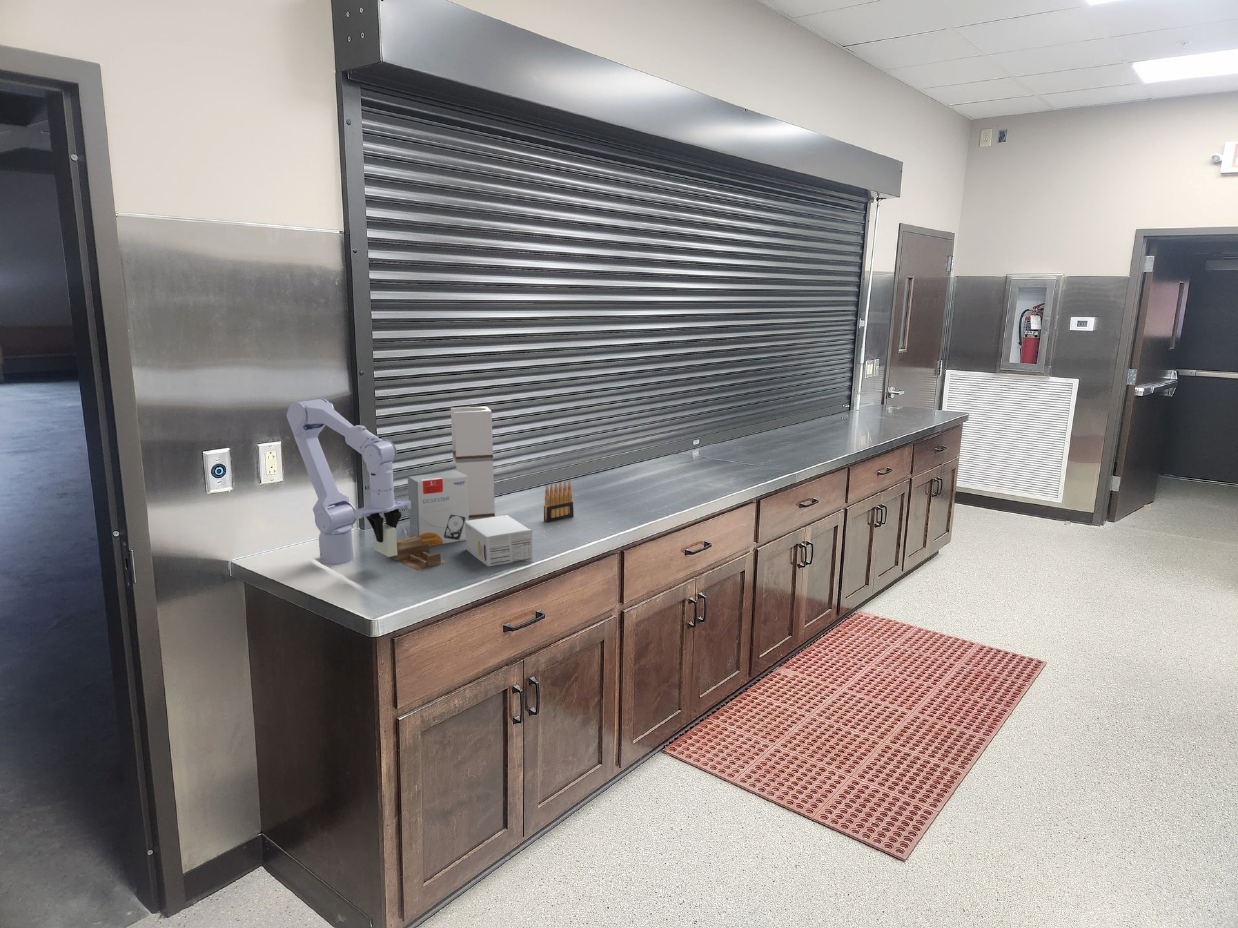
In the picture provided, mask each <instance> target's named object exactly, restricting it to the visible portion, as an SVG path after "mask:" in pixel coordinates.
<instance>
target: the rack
mask: <svg viewBox="0 0 1238 928" xmlns="http://www.w3.org/2000/svg"><path fill="white" fill-rule="evenodd" d="M397 551H398V555H395V556H391V557H390V558H391V559H393V560H395V561H396V562H400V563H401V564H404V565H406V566H407V567H410V568H412V569H414V570H416V571H421V570H425V569H430V568H433V567H436V566H440V565H445V564H449V562H448V561H446V560H443V559H441V553H440V552H436V553H432V554H430V546H429V543H426V544H421V545H417V546H413V547H408V548H404V549H400V550H397Z"/></svg>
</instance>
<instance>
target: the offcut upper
mask: <svg viewBox="0 0 1238 928" xmlns="http://www.w3.org/2000/svg"><path fill="white" fill-rule="evenodd" d="M421 544H422V539H421V538H418V537H415V536H414V537H410V536H409V537H407V538H404V539H399V540H397V549H398V550H400V549H404V548H408V547H413V546H417V545H421Z"/></svg>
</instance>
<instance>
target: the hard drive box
mask: <svg viewBox="0 0 1238 928" xmlns="http://www.w3.org/2000/svg"><path fill="white" fill-rule="evenodd" d="M407 488H408V489H407V490H408V492H407V493H408V501H411V509H408V512H409V513H408V514H409V517H408V518H409V535H410V536H409V538H410V537H414V536H415V537H418V538H421V539H422V544H426V543H429V547H431V546H432V547H433V546H437V545H438V546H439V545H444V544H450V543H456V542H461V541H462V542H463V541H466V532H465V521H468V520H469V512H468V476H467V475H465V474H463V473H461V472H459V471H458V472H457V471H447V472H438V473H431V474H430V473H429V474H421V475H413V476H407Z"/></svg>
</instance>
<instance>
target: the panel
mask: <svg viewBox="0 0 1238 928" xmlns="http://www.w3.org/2000/svg"><path fill="white" fill-rule="evenodd" d="M372 530H373V529H372ZM372 534H373V543H374V547H373V549H374V551H375V552H378V553H380V554H382V555H384V556H386V557H387V558H391V556H395V555H397V541H398V540H397V539H398V538H397V527H396V528H393V527H391V526H389V525H386V523H384V522H383V542H381V543H380V542H378V541H377V540H376V536H375V533H374V530H373V533H372Z"/></svg>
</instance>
